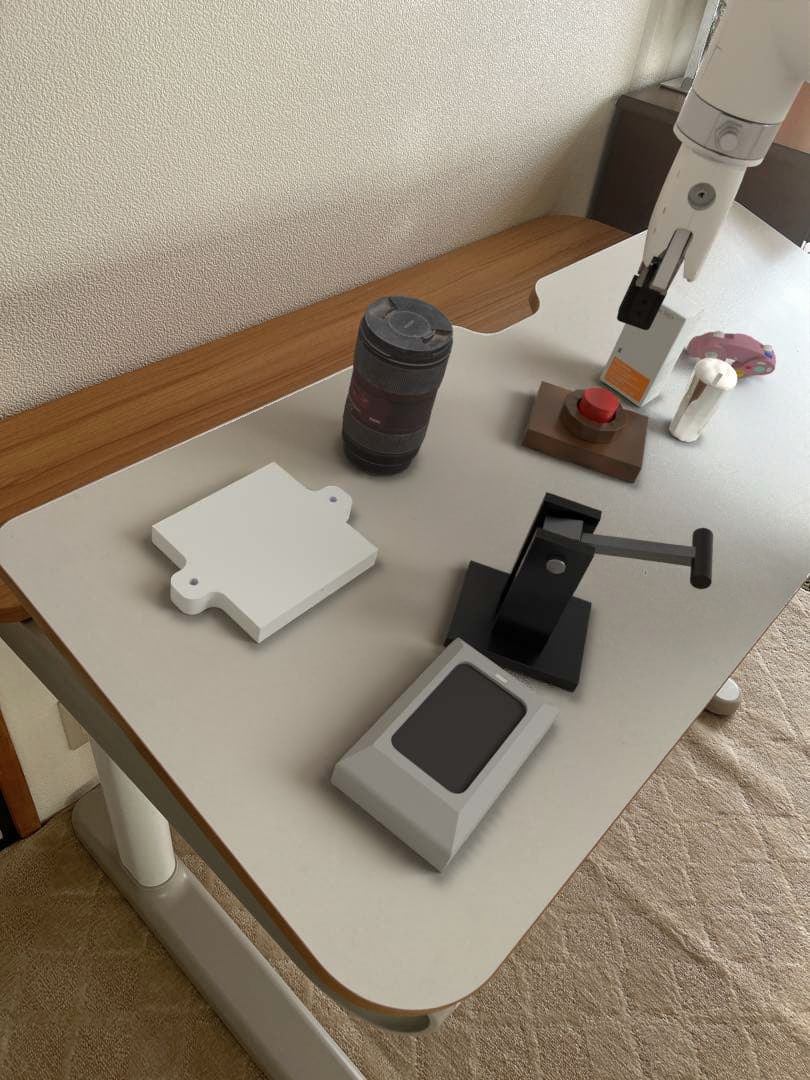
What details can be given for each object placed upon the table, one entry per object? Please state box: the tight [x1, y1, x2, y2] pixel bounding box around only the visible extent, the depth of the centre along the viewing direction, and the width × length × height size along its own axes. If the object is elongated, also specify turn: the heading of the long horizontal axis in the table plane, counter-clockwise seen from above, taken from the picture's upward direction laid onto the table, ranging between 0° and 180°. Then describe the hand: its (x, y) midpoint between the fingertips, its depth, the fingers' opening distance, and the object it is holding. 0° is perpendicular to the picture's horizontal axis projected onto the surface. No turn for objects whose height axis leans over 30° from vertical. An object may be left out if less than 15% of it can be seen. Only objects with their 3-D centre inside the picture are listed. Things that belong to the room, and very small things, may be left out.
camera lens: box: [341, 295, 454, 477], centre depth 79 cm, size 8×8×15 cm
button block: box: [521, 380, 649, 484], centre depth 92 cm, size 12×9×4 cm
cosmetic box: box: [599, 286, 705, 408], centre depth 97 cm, size 6×4×12 cm
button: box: [579, 386, 619, 423], centre depth 90 cm, size 4×4×2 cm
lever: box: [543, 516, 714, 590], centre depth 65 cm, size 12×5×2 cm, turn 74°
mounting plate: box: [151, 461, 379, 644], centre depth 73 cm, size 18×13×2 cm
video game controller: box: [686, 330, 777, 379], centre depth 106 cm, size 10×5×7 cm, turn 80°
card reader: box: [329, 638, 560, 874], centre depth 63 cm, size 10×4×15 cm
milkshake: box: [668, 358, 738, 443], centre depth 94 cm, size 4×5×10 cm
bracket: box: [442, 491, 603, 693], centre depth 69 cm, size 11×9×13 cm
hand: (632, 321), depth 83 cm, fingers closed
